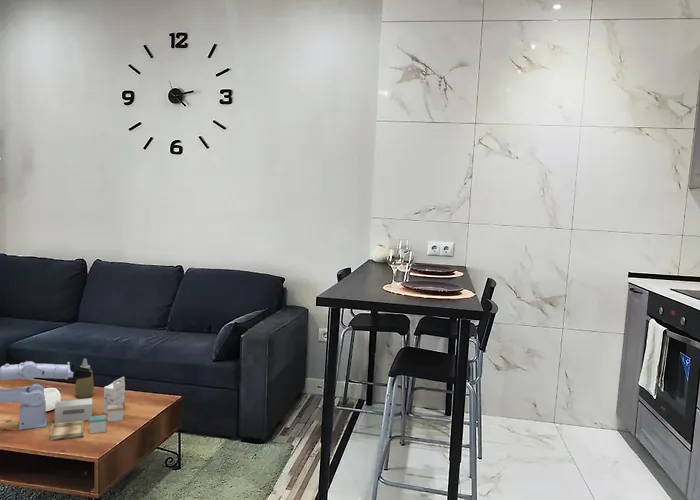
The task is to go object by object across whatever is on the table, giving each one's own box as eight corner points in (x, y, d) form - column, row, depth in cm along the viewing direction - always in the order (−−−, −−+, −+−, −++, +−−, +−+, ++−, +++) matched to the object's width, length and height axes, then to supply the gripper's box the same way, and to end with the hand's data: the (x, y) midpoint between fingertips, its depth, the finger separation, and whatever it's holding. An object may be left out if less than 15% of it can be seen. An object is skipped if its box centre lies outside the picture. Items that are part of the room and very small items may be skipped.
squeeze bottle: (97, 395, 264) (98, 358, 262) (81, 400, 257) (82, 362, 255) (87, 391, 268) (87, 355, 266) (71, 396, 261) (71, 358, 259)
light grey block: (107, 421, 237) (107, 409, 236) (107, 418, 240) (107, 405, 240) (123, 420, 239) (123, 407, 239) (122, 416, 243) (122, 404, 242)
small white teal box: (89, 433, 225) (89, 420, 224) (89, 429, 228) (89, 416, 228) (105, 431, 227) (106, 418, 227) (105, 427, 231) (105, 415, 230)
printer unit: (54, 424, 231) (54, 407, 230) (55, 417, 238) (55, 401, 237) (91, 420, 237) (92, 404, 236) (91, 413, 244) (92, 397, 243)
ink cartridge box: (114, 406, 253) (115, 374, 252) (124, 407, 252) (125, 375, 251) (103, 413, 245) (103, 380, 244) (113, 414, 244) (113, 382, 243)
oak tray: (50, 440, 216) (50, 435, 216) (51, 428, 227) (51, 424, 227) (83, 437, 221) (83, 432, 221) (83, 425, 232) (83, 420, 231)
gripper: (57, 364, 225) (94, 366, 232) (54, 358, 237) (89, 360, 245) (54, 382, 224) (91, 383, 232) (51, 375, 237) (86, 377, 244)
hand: (90, 372), depth 238 cm, fingers open, 7 cm apart
